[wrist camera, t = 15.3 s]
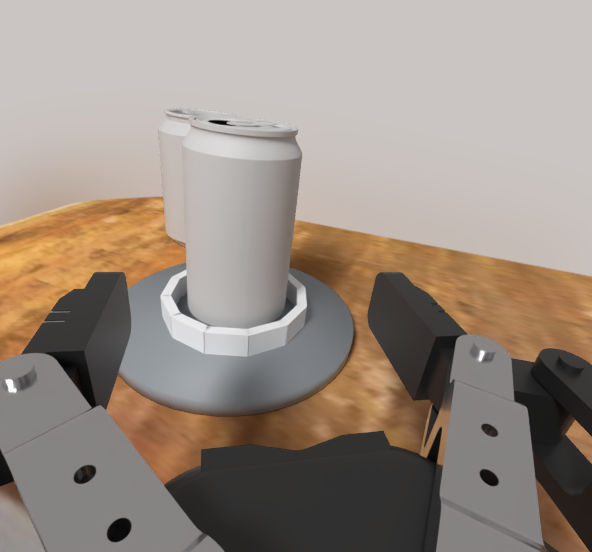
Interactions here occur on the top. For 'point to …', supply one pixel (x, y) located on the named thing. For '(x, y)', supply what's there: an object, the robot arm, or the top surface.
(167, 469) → the top surface
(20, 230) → the top surface
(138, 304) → the dock
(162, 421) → the top surface
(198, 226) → the beverage can
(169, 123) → the can
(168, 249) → the top surface
